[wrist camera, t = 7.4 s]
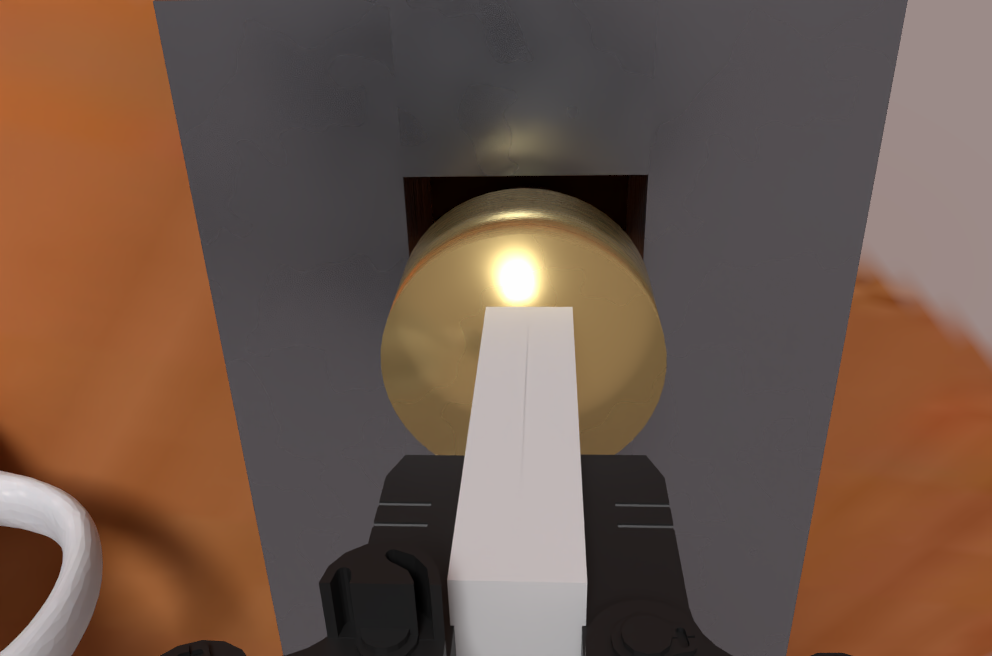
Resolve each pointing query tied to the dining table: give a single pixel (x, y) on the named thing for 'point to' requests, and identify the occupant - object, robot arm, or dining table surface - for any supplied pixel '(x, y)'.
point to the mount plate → (538, 152)
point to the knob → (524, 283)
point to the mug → (72, 601)
